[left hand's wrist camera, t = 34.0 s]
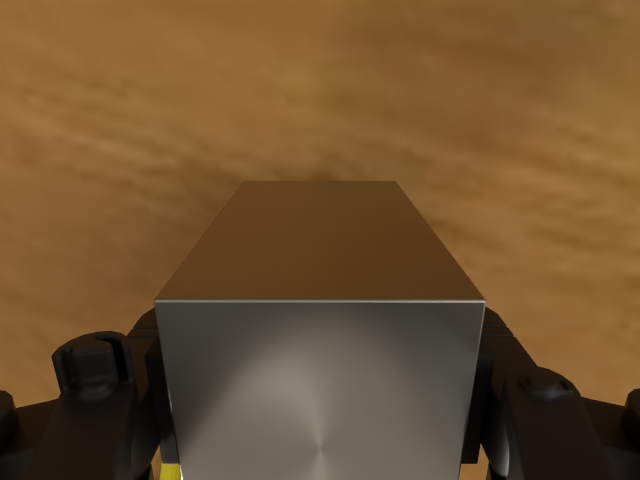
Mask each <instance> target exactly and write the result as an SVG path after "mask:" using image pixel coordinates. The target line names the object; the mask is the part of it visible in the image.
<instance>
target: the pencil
mask: <svg viewBox="0 0 640 480" xmlns="http://www.w3.org/2000/svg"><path fill="white" fill-rule="evenodd" d="M180 477H181V475H180V469H179V464H163V463H162V465H161V473H160V480H180Z"/></svg>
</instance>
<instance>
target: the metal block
mask: <svg viewBox="0 0 640 480" xmlns="http://www.w3.org/2000/svg"><path fill="white" fill-rule="evenodd" d="M154 305H155V312H156V318H157V325H158V331H159V338H160V345H161V351H162V358H163V364H164V371H165V377H166V384H167V390H168V397H169V403H170V410H171V416H172V423H173V429H174V436H175V442H176V449H177V455H178V462H179V469H180V475H181V480H459V474H460V468H461V461H462V455H463V448H464V442H465V435H466V429H467V422H468V416H469V410H470V403H471V397H472V390H473V384H474V377H475V371H476V364H477V358H478V351H479V345H480V339H481V332H482V326H483V319H484V313H485V306H486V300H485V298H484V297H483V296H482V294H481V293H480V292H479V290H478V289H477V288H476V286H475V285H474V284H473V282H472V281H471V280H470V278H469V277H468V276H467V274H466V273H465V272H464V271H463V269H462V268H461V267H460V265H459V264H458V263H457V261H456V260H455V259H454V257H453V256H452V255H451V253H450V252H449V251H448V249H447V248H446V247H445V246H444V244H443V243H442V242H441V240H440V239H439V238H438V236H437V235H436V234H435V232H434V231H433V230H432V228H431V227H430V226H429V224H428V223H427V222H426V221H425V219H424V218H423V217H422V215H421V214H420V213H419V211H418V210H417V209H416V207H415V206H414V205H413V203H412V202H411V201H410V199H409V198H408V197H407V195H406V194H405V193H404V192H403V190H402V189H401V188H400V186H399V185H398V184H397V182H395V181H244V182H243V183H242V185H241V186H240V187H239V189H238V190H237V191H236V193H235V194H234V195H233V197H232V198H231V199H230V200H229V202H228V203H227V204H226V206H225V207H224V208H223V210H222V211H221V212H220V214H219V215H218V216H217V218H216V219H215V220H214V222H213V223H212V224H211V226H210V227H209V228H208V230H207V231H206V232H205V234H204V235H203V236H202V237H201V239H200V240H199V241H198V243H197V244H196V245H195V247H194V248H193V249H192V251H191V252H190V253H189V255H188V256H187V257H186V259H185V260H184V261H183V263H182V264H181V265H180V267H179V268H178V269H177V271H176V272H175V273H174V274H173V276H172V277H171V278H170V280H169V281H168V282H167V284H166V285H165V286H164V288H163V289H162V290H161V292H160V293H159V294H158V296H157V297H156V298H155V300H154Z"/></svg>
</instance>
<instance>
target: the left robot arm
mask: <svg viewBox="0 0 640 480" xmlns="http://www.w3.org/2000/svg"><path fill="white" fill-rule="evenodd" d="M51 357H52V361H53V365H54V369H55V372H56V376H57V380H58V384H59V388H60V391H61V394H60V396H59V398H58V399H55V400H51V401H47V402H43V403H38V404H33V405H28V406H24V407H19V408H16V407H15V404H14V401H13V398H12V396H11V395H10V394H9V393H7V392H6V391H1V390H0V480H154V477H153V470H152V465H151V461H152V459H153V457H154V455H155V452H156V450H157V448H158V446H160V452H161V458H162V463H163V464H179V462H178V455H177V449H176V442H175V436H174V429H173V423H172V416H171V410H170V403H169V397H168V390H167V384H166V377H165V371H164V364H163V358H162V351H161V345H160V338H159V331H158V325H157V318H156V312H155V307H154V308H153V309H151V310H150V311H148V312H147V313H145V314H144V315H142V316H141V318H140V319H139V320H138V322H137V323H136V324H135V326H134V329H132V330H131V331H130V332H129V334H128V335H127V336H125V335H123V334H122V333H118V332H113V331H102V332H94V333H90V334H85V335H82V336H80V337H77V338H75V339H72V340H70V341H68V342H67V343H65V344H64V345H62V346H60V347H59V348H58V349H57V350H56V351H55V352H54V354H53V355H52V356H51ZM480 444H482V446H483V449H484V451H485V453H486V455H487V458H488V460H489V465H488V470H487V476H486V480H640V388H639V389H634V390H633V391H632V392H630V393H629V394H628V397H627V400H626V403H625V406H620V405H616V404H611V403H606V402H601V401H597V400H592V399H588V398H584V397H581V395H580V393H579V391H578V390H577V389H576V387H575V386H574V385H573V383H571V382H570V381H569V380H567V379H566V378H565V377H563V376H562V375H560V374H558V373H556V372H554V371H551V370H549V369H546V368H542V367H538V366H537V365H536V364H535V362H534V361H533V360H532V358H531V357H530V356H529V354H528V353H527V352H526V350H525V349H524V348H523V347H522V345H521V344H520V343H519V341H518V340H517V339H516V337H514V336H513V333H512V332H511V331H510V330H509V328H506V324H505V323H504V322H503V320H502V319H501V318H500V316H499V315H498V314H497V313H495V312H494V311H492V310H491V309H489V308H488V307H486V306H485V313H484V319H483V326H482V332H481V339H480V345H479V351H478V358H477V364H476V371H475V377H474V384H473V390H472V397H471V403H470V410H469V416H468V422H467V429H466V435H465V442H464V448H463V455H462V461H461V464H477V462H478V456H479V450H480Z"/></svg>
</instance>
